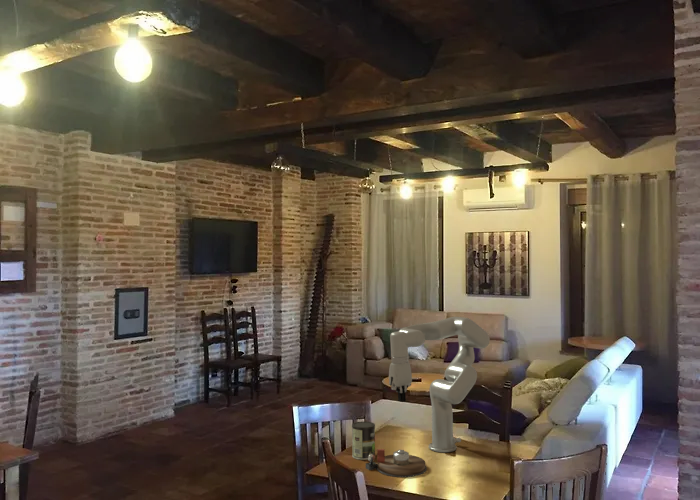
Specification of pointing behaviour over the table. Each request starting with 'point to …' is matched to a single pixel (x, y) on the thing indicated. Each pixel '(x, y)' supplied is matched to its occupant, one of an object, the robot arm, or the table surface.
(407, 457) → the cover
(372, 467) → the small bust figurine
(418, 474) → the turntable base
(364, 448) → the coffee can
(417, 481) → the table surface
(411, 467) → the turntable
